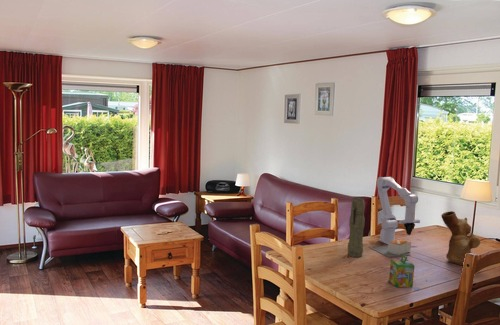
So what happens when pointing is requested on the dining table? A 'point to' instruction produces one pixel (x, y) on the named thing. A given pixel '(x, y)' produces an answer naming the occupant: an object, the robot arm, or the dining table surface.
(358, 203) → the olive green carved pillar
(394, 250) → the small box
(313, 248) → the dining table surface
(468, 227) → the ceramic vessel
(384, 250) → the mat
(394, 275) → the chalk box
